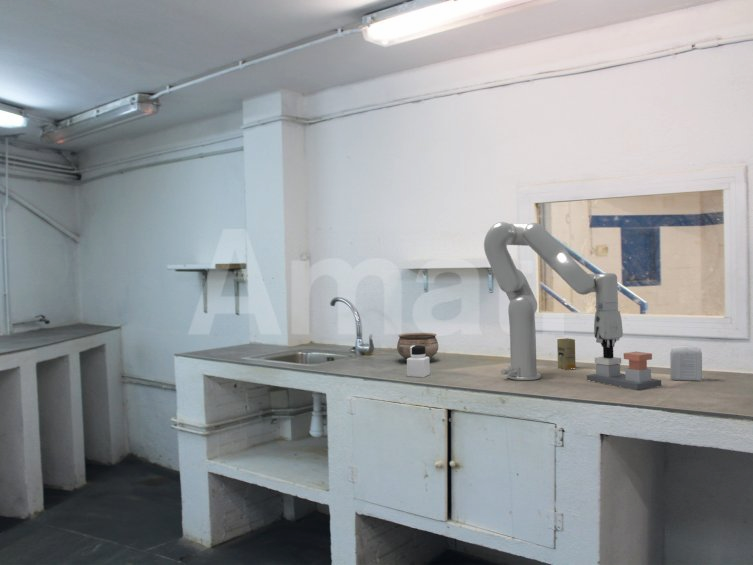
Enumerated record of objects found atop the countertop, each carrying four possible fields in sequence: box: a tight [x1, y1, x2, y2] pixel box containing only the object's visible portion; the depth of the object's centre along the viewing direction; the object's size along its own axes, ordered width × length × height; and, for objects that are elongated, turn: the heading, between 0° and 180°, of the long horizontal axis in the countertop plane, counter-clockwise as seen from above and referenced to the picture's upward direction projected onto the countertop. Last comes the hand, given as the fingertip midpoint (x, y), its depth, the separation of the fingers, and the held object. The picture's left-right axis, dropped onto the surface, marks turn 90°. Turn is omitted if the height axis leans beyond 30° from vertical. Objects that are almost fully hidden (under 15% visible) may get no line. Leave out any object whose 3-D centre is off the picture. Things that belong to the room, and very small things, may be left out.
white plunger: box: [594, 356, 622, 365], centre depth 227 cm, size 6×6×6 cm
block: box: [586, 363, 662, 391], centre depth 221 cm, size 12×22×6 cm, turn 28°
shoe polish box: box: [556, 337, 577, 370], centre depth 254 cm, size 5×5×12 cm
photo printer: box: [669, 345, 703, 382], centre depth 223 cm, size 10×4×12 cm, turn 72°
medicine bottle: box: [406, 345, 431, 378], centre depth 249 cm, size 7×7×12 cm
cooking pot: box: [396, 332, 439, 360], centre depth 285 cm, size 25×19×12 cm
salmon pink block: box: [623, 351, 653, 370], centre depth 215 cm, size 6×6×6 cm
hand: (608, 357), depth 226 cm, fingers closed
